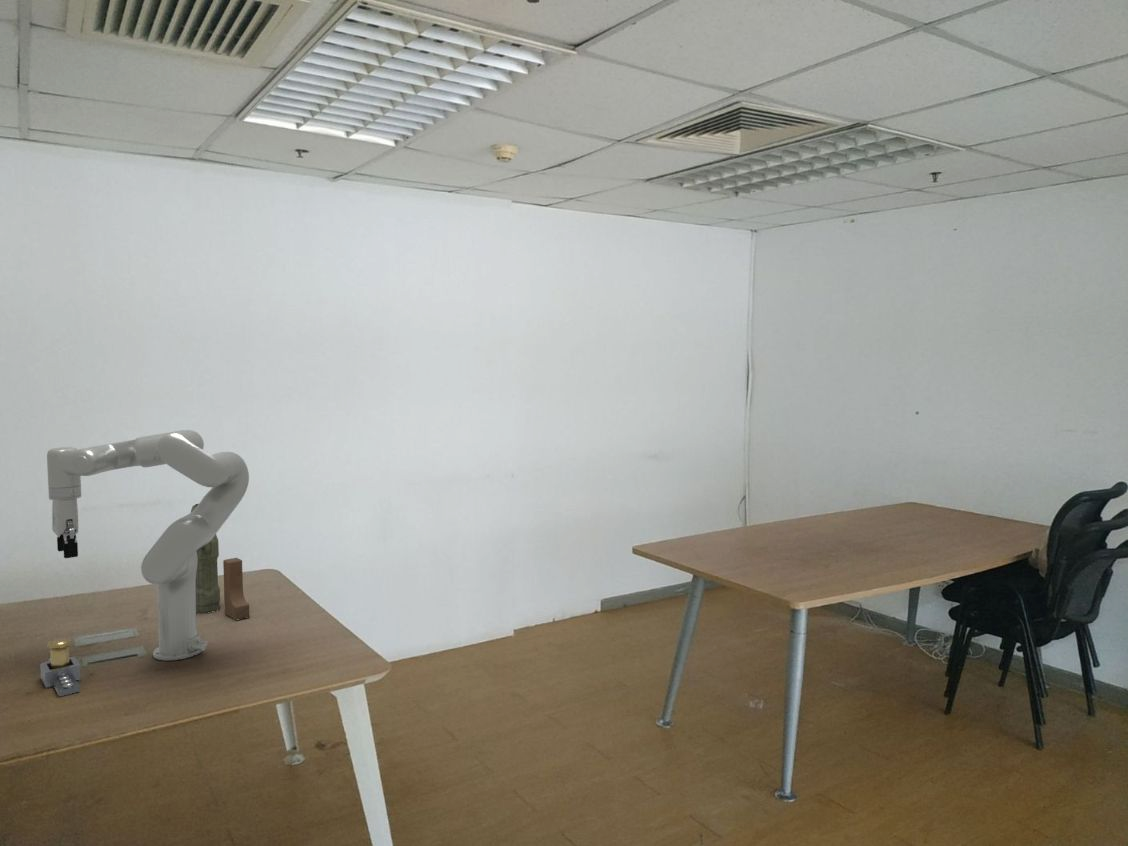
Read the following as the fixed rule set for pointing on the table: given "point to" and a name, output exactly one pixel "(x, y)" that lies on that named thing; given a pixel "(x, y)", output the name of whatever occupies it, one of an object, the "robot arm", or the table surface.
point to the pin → (59, 652)
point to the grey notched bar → (62, 677)
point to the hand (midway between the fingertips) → (67, 553)
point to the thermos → (207, 577)
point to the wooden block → (234, 589)
